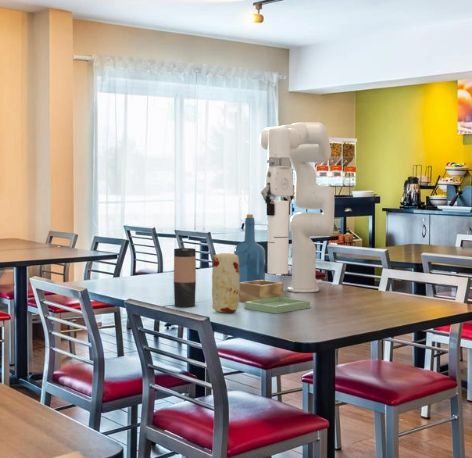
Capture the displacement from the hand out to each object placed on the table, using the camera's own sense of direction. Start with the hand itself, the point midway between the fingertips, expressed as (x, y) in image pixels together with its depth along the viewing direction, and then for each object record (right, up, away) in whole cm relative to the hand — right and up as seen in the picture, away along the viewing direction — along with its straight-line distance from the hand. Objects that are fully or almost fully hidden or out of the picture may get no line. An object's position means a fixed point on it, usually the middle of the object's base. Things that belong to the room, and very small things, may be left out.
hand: (278, 214), depth 269 cm
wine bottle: (-12, -29, +59) cm, 67 cm away
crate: (-6, -31, +16) cm, 36 cm away
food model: (-18, -33, -8) cm, 38 cm away
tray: (0, -32, +2) cm, 32 cm away
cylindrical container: (0, -20, +1) cm, 20 cm away
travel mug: (-33, -32, +5) cm, 46 cm away
